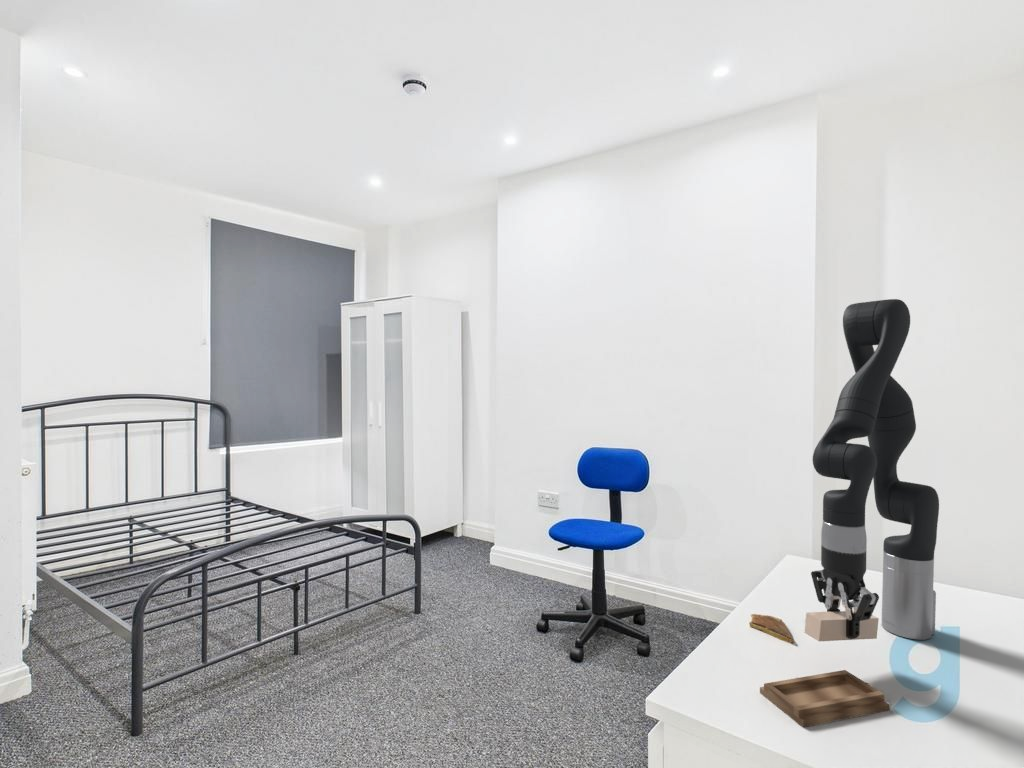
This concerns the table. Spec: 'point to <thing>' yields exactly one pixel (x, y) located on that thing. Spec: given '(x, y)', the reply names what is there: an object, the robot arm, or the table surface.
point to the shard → (771, 626)
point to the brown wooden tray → (825, 697)
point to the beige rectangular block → (837, 626)
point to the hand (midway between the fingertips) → (842, 632)
